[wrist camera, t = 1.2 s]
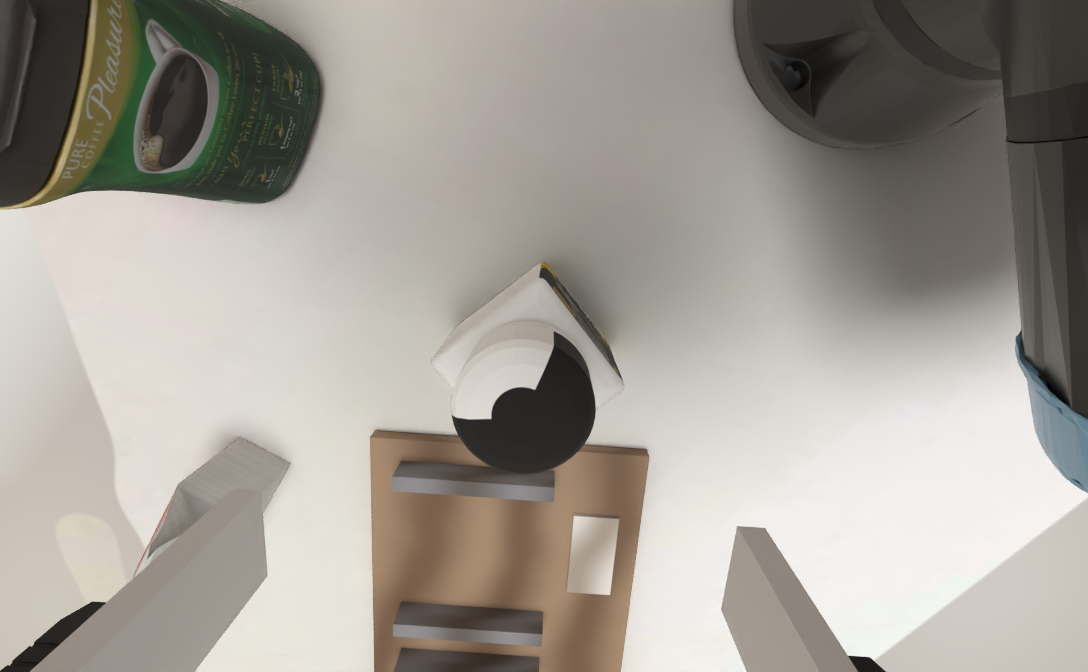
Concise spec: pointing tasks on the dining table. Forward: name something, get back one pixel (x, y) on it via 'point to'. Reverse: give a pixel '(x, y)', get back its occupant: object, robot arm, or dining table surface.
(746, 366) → the dining table surface
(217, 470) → the grey boxy piece
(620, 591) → the stand
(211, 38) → the coffee jar
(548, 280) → the medicine bottle
